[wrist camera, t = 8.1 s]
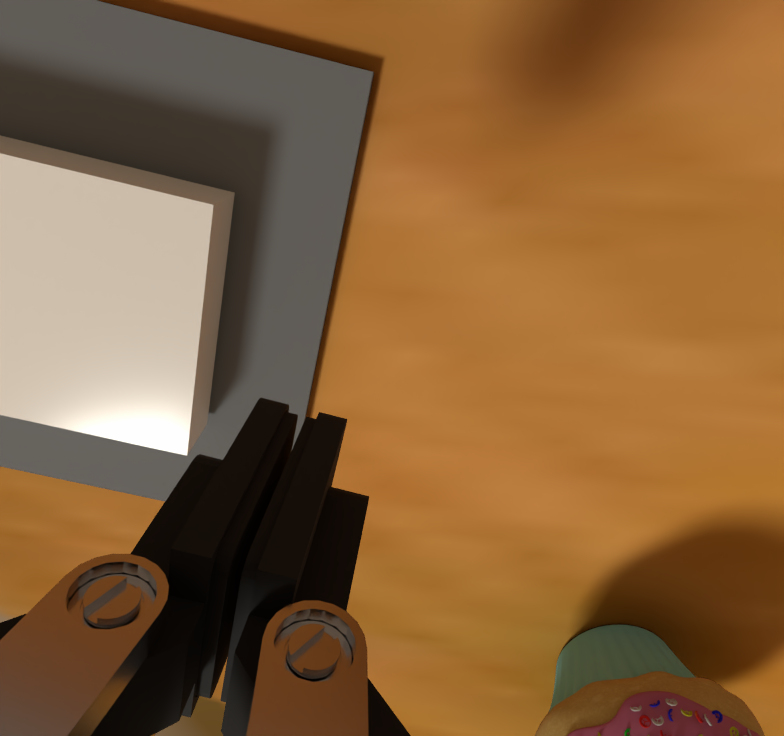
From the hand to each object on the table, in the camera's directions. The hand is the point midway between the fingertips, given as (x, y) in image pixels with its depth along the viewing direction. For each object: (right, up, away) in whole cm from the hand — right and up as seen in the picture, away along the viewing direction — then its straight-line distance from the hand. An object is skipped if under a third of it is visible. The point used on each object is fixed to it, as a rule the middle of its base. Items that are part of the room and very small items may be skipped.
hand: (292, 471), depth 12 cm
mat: (-7, +5, +8) cm, 12 cm away
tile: (-4, +3, +7) cm, 8 cm away
